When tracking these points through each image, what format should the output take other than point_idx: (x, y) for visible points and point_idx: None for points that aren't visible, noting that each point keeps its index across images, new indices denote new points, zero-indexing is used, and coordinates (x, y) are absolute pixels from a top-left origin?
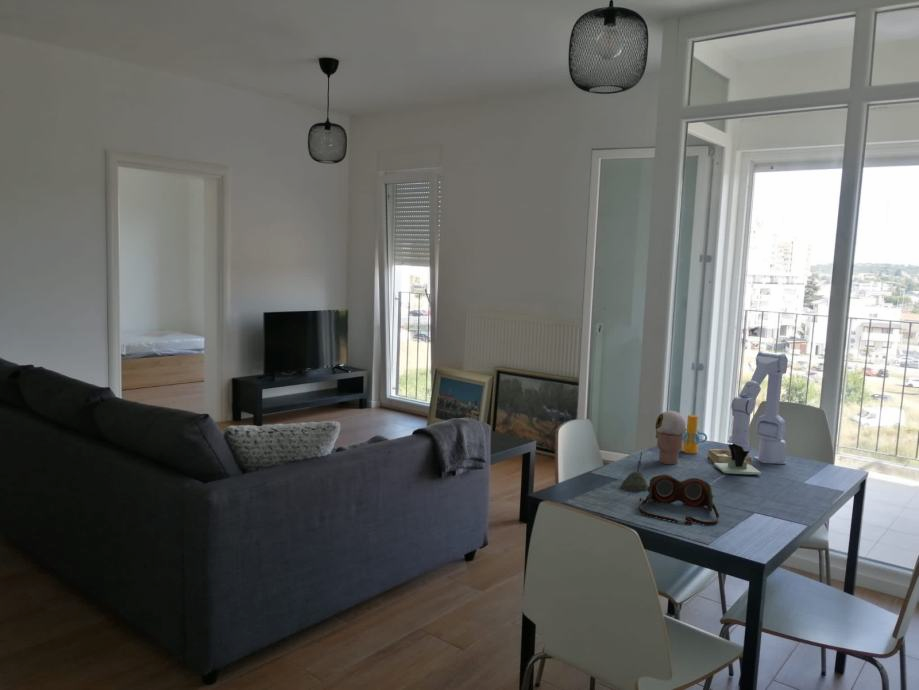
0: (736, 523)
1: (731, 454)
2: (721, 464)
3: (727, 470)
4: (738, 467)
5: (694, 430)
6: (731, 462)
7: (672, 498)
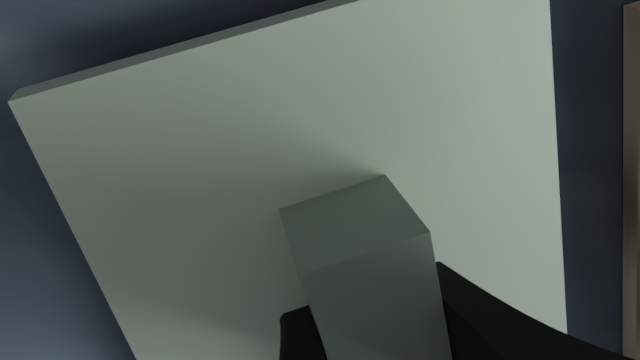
0: None
1: (539, 332)
2: (463, 75)
3: (76, 158)
4: None
5: None
6: (301, 272)
7: None
